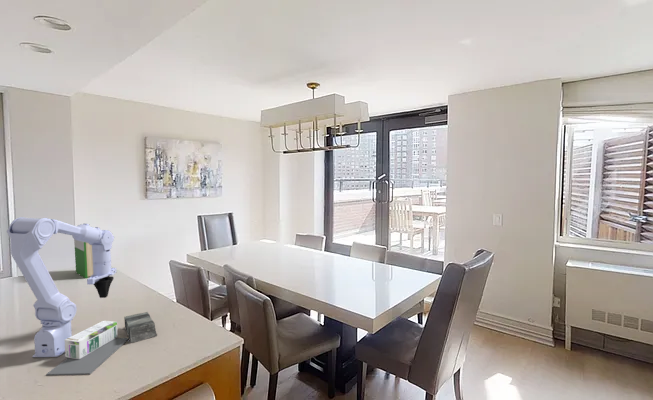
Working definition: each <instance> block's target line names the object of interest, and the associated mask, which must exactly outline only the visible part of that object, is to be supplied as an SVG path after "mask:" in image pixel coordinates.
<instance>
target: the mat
mask: <svg viewBox="0 0 653 400" xmlns="http://www.w3.org/2000/svg"><path fill="white" fill-rule="evenodd" d="M128 341H130V339H129V337H120V338H119V337H117V338H115V339H114V340H112V341H110V342H108V343H106V344H105V345H103V346H101V347H100V348H98V349H96V350H95V351H93V352H91V353H90V354H88V355H86V356H84V357H83V358H81V359H73V358H68V357H66V359H64V360H62V361H61V362H60V363H58V364H57V365H56V366H55V367H53V368H52V369H51V370H49V372H47V373H46V374H45V375H46V376H77V375H78V376H80V375H81V376H83V375H85V374H86V375H85V376H87V374H88V375H91V374H92V373H93V372H95V371H96V370H97V369H98V368H99V367H100V366H101V365H102V364H103V363H105V362H106V360H108V359H109V358H111V356H113V355H114V353H115V352H116V351H118V350H119V349H120V348H121V347H122V346H123V345H124V344H125V343H127V342H128Z"/></svg>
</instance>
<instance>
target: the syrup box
mask: <svg viewBox="0 0 653 400" xmlns="http://www.w3.org/2000/svg"><path fill="white" fill-rule="evenodd" d="M115 338H119V335H118V322H117V321H111V320H102V321H100V322H98V323H96V324H94V325H92V326H89V327H88V328H86V329H84V330H82V331H79V332H78V333H76V334H74V335H73V334H72V336H71V337H69V338H67V339H65V340H64V342H65V352H64V353H65V354H64V356H65V358H73V359H81V358H83V357H84V356H86V355H88V354H90V353H91V352H93V351H95V350H96V349H98V348H100V347H101V346H103V345H105V344H106V343H108V342H110V341H112V340H114V339H115Z"/></svg>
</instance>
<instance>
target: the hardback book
mask: <svg viewBox="0 0 653 400" xmlns="http://www.w3.org/2000/svg"><path fill="white" fill-rule="evenodd" d="M73 241H74V258H75V259H74V263H75V273H76V272H77V273H76V274H78V275H79V274H80V275H79V276H81V277H82V276H83V277H82V278H84V279H85V278H86V279H89V278H90V277H91V276H92V275H93V258H92V245H90V244H89V243H86V242H82V241H77V240H75V239H74V238H73Z"/></svg>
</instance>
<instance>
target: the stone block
mask: <svg viewBox="0 0 653 400" xmlns="http://www.w3.org/2000/svg"><path fill="white" fill-rule="evenodd" d="M123 321H124V330H125V332H126V334H127V336H128V337H127V338H129V342H130V344H134V343H137V342H140V341H144V340H148V339H150V338H155V337H157V336H158V333H157V331H156V324H155V323H156V322H154V320H153V319H152V317H151V316H150V314H149V312H148V311H146V312H140V313H135V314H131V315H125V316H124V320H123Z"/></svg>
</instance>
